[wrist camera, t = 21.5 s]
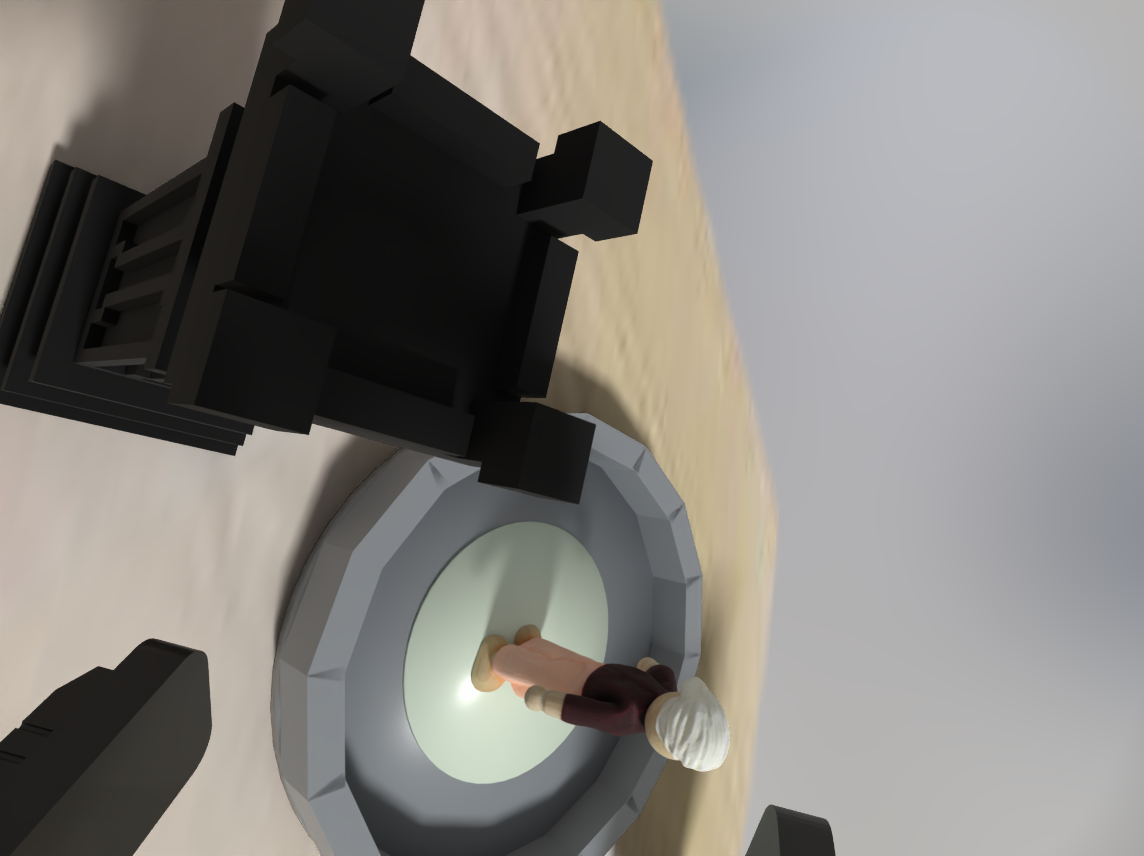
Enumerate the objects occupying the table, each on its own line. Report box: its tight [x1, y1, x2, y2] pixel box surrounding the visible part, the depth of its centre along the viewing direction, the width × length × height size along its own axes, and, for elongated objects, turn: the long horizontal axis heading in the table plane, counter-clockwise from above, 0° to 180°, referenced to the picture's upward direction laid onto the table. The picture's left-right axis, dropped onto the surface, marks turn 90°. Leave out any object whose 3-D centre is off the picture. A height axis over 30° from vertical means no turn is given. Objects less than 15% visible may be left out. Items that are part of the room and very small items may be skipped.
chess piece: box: [0, 0, 653, 505], centre depth 20 cm, size 8×8×20 cm
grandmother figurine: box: [471, 624, 730, 772], centre depth 34 cm, size 8×4×13 cm, turn 100°
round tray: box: [271, 412, 702, 856], centre depth 38 cm, size 24×24×4 cm
